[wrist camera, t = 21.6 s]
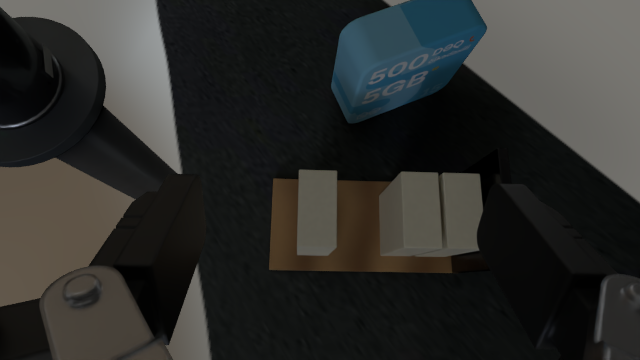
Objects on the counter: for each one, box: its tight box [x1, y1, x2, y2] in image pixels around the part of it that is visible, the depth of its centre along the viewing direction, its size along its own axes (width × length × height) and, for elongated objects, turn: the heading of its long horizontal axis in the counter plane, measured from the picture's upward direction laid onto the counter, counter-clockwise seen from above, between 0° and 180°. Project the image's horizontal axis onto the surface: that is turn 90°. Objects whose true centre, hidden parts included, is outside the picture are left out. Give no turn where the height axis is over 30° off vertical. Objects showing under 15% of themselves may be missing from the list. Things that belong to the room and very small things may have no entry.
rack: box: [269, 148, 511, 273], centre depth 34 cm, size 18×9×12 cm, turn 89°
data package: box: [331, 0, 487, 123], centre depth 38 cm, size 12×4×12 cm, turn 113°
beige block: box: [297, 170, 337, 256], centre depth 35 cm, size 3×6×9 cm, turn 179°
